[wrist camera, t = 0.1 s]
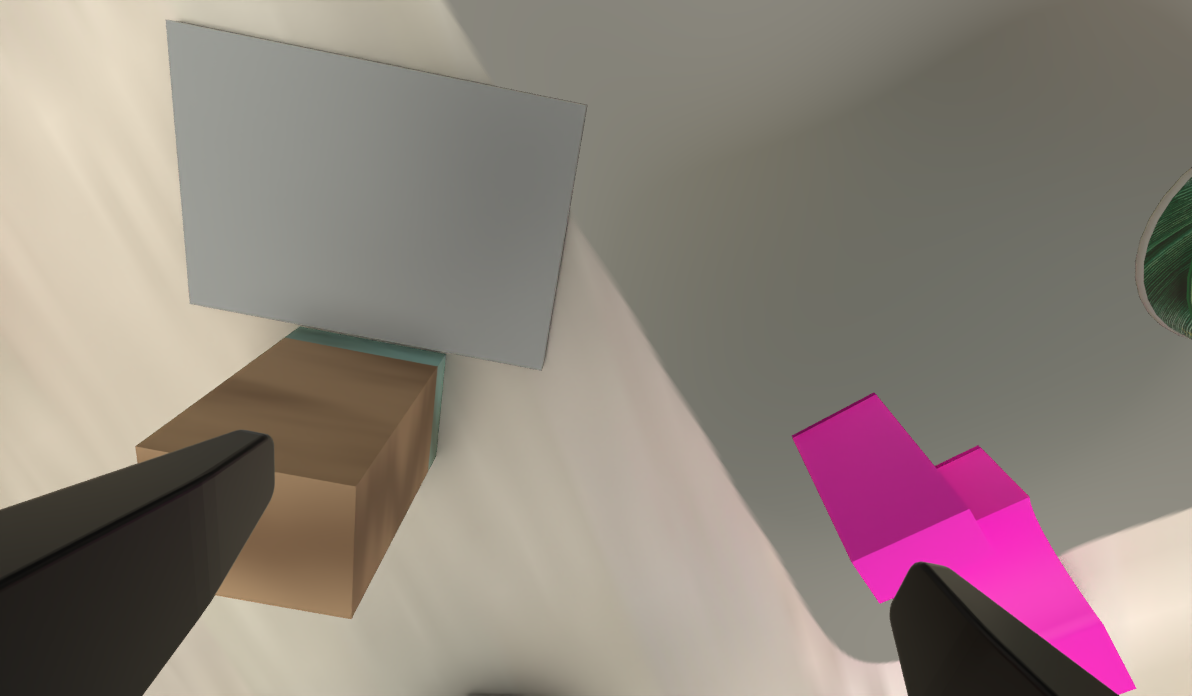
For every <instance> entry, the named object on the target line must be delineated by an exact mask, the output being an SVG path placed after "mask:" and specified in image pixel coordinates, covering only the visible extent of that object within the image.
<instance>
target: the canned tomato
mask: <svg viewBox="0 0 1192 696" xmlns="http://www.w3.org/2000/svg"><path fill="white" fill-rule="evenodd" d="M1135 281H1136V285H1137V289H1138V293H1139V297H1140V299H1141V301H1142V303H1143V305H1144V306H1145V308H1146V310H1147V311H1148V313H1149V314H1150V315H1151V316H1152V317H1153V318H1154V319H1155V320H1156V321H1157V322H1158V323H1159V324H1160V325H1161V326H1163V327H1165V328H1166V329H1168V330H1170V331H1172V332H1173V333H1175V334H1177V335H1179V336H1182V337H1186V338H1189V339H1192V167H1191V168H1190V169H1189V170H1188V171H1187V172H1186V173H1185V174H1183V175H1182V176H1181V177H1180V178H1179V179H1178V181H1177V182H1176V183H1175V184H1174V185H1173V186H1172V187H1171V189H1170V190H1169V191H1168V192H1167V193H1166V194H1165V195H1164V197H1163V198H1162V200H1161V201H1160V203H1159V204H1158V206H1157V207H1156V209H1155V211H1154V212H1153V214H1152V215H1151V217H1150V218H1149V220H1148V223H1147V225H1146V227H1145V230H1144V232H1143V234H1142V237H1141V239H1140V243H1139V248H1138V252H1137V257H1136V261H1135Z"/></svg>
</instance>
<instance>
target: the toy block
mask: <svg viewBox="0 0 1192 696" xmlns="http://www.w3.org/2000/svg"><path fill="white" fill-rule="evenodd" d="M792 438H793V440H794V442H795V444H796V446H797V449H798V451H799V453H800V455H801V457H802V459H803V461H804V463H805V465H806V467H807V469H808V472H809V474H810V476H811V478H812V480H813V482H814V484H815V486H816V488H817V491H818V493H819V495H820V497H821V499H822V501H823V503H824V505H825V507H826V509H827V512H828V514H829V516H830V518H831V520H832V522H833V524H834V526H835V528H836V531H837V532H838V535H839V537H840V539H841V541H842V543H843V545H844V547H845V549H846V552H847V554H848V556H849V558H850V560H851V562H852V563H853V565H854V566H855V568H856V569H857V571H858V572H859V574H860V575H861V577H862V578H863V580H864V581H865V583H866V584H867V585H868V587H869V588H870V590H871V591H872V593H873V594H874V596H875V597H876V599H877V600H878V602H879V603H883V602H885V601H887V600H890V599H894V597H895V595H896V593H897V591H898V589H899V587H900V586H901V584H902V582H903V580H904V578H905V576H906V574H907V572H908V570H909V569H910V567H911V566H912V565H913V564H914V563H916V562H920V561H922V562H928V563H933V564H938V565H943V566H946V567H948V568H950V569H952V570H953V571H954V572H956V573H957V574H958V575H960V576H961V577H962V578H964V579H965V580H966V581H968V582H969V583H970V584H972V585H973V586H974V587H976V588H977V589H978V590H980V591H981V592H982V593H984V594H985V595H986V596H987V597H989V598H990V599H991V600H993V601H994V602H995V603H997V604H998V605H999V606H1001V607H1002V608H1003V609H1005V610H1006V611H1007V612H1009V613H1010V614H1011V615H1013V616H1014V617H1015V618H1017V619H1018V620H1019V621H1021V622H1022V623H1023V624H1025V625H1026V626H1027V627H1029V628H1030V629H1031V630H1033V631H1034V632H1035V633H1037V634H1038V635H1039V636H1041V637H1042V638H1043V639H1045V640H1046V641H1047V642H1049V643H1050V644H1051V645H1053V646H1054V647H1055V648H1057V649H1058V650H1059V651H1061V652H1062V653H1063V654H1065V655H1066V656H1067V657H1069V658H1070V659H1071V660H1073V661H1074V662H1075V663H1077V664H1078V665H1079V666H1081V667H1082V668H1083V669H1085V670H1086V671H1087V672H1089V673H1090V674H1091V675H1093V676H1094V677H1095V678H1097V679H1098V680H1099V681H1101V682H1102V683H1103V684H1105V685H1106V686H1107V687H1109V688H1110V689H1111V690H1113V691H1114V692H1115V693H1117V694H1118V695H1119V694H1122V693H1125V692H1128V691H1130V690H1133V689H1136V687H1135V685H1134V683H1133V681H1132V679H1131V677H1130V675H1129V673H1128V671H1127V669H1126V667H1125V665H1124V664H1123V662H1122V660H1121V658H1120V656H1119V654H1118V652H1117V650H1116V648H1115V646H1114V644H1113V642H1112V640H1111V638H1110V636H1109V635H1108V633H1107V631H1106V629H1105V627H1104V625H1103V624H1102V622H1101V621H1100V619H1099V618H1098V617H1097V615H1096V614H1095V612H1094V611H1093V610H1092V608H1091V607H1090V605H1089V604H1088V603H1087V601H1086V600H1085V598H1084V597H1083V595H1082V594H1081V592H1080V591H1079V589H1078V588H1077V587H1076V585H1075V584H1074V582H1073V581H1072V579H1071V577H1070V576H1069V574H1068V573H1067V571H1066V570H1065V568H1064V567H1063V565H1062V564H1061V562H1060V560H1059V559H1058V557H1057V555H1056V554H1055V552H1054V550H1053V549H1052V547H1051V545H1050V544H1049V542H1048V540H1047V538H1046V537H1045V535H1044V533H1043V531H1042V529H1041V527H1040V525H1039V523H1038V521H1037V519H1036V517H1035V514H1034V512H1033V509H1032V506H1031V503H1030V497H1029V496H1028V495H1027V494H1026V493H1025V492H1024V491H1023V490H1022V489H1021V488H1020V487H1019V486H1018V485H1017V484H1016V483H1015V482H1014V481H1013V480H1012V479H1011V478H1010V477H1009V476H1008V475H1007V474H1006V473H1005V472H1004V471H1003V470H1002V469H1001V468H1000V467H999V466H998V465H997V464H996V462H995V461H994V460H993V459H992V458H991V457H990V456H989V455H988V454H986V453H985V451H984V450H983V449H982V448H981V447H979V445H977V446H975V447H973V448H971V449H969V450H967V451H965V452H963V453H961V454H958V455H956V456H954V457H952V458H950V459H948V460H946V461H944V462H942V463H940V464H938V465H935V466H934V465H933V464H932V462H931V461H930V460H929V459H928V457H927V456H926V455H925V454H924V453H923V451H922V450H921V449H920V448H919V446H918V445H917V444H916V443H915V442H914V440H913V439H912V438H911V437H910V435H909V434H908V433H907V432H906V431H905V429H904V428H903V427H902V426H901V424H900V423H899V422H898V421H897V419H896V418H895V417H894V416H893V415H892V413H891V412H890V411H889V410H888V409H887V407H886V406H885V405H884V404H883V402H882V401H881V400H880V399H879V397H877V395H876V394H875V393H871V394H870V395H868V396H866V397H864V398H862V399H860V400H858V401H856V402H854V403H852V404H851V405H849V406H847V407H845V408H843V409H841V410H839V411H837V412H836V413H834V414H832V415H830V416H828V417H826V418H824V419H822V420H821V421H818V422H816V423H815V424H813V425H811V426H809V427H807V428H805V429H803V430H801V431H799V432H798V433H796V434H794V435H792Z"/></svg>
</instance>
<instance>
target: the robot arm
mask: <svg viewBox="0 0 1192 696" xmlns="http://www.w3.org/2000/svg"><path fill="white" fill-rule="evenodd" d="M274 487H275V455H274V441H273V439H272V437H271V436H269V435H268V434H264V433H259V432H254V431H249V430H236V431H233V432H230V433H227V434H224V435H221V436H218V437H215V438H212V439H209V440H206V441H203V442H200V443H197V444H194V445H191V446H188V447H185V448H182V449H179V450H176V451H173V452H170V453H167V454H164V455H161V456H158V457H155V458H152V459H150V460H147V461H144V462H141V463H138V464H135V465H132V466H129V467H126V468H123V469H120V470H117V471H114V472H111V473H108V474H105V475H102V476H99V477H96V478H93V479H90V480H87V481H84V482H81V483H78V484H75V485H72V486H69V487H66V488H63V489H60V490H57V491H54V492H52V493H49V494H46V495H43V496H40V497H37V498H34V499H31V500H28V501H25V502H22V503H19V504H16V505H13V506H10V507H7V508H4V509H1V510H0V696H142V695H143V694H144V693H145V691H146V690H147V689H148V687H149V686H150V685H151V683H152V682H153V681H154V679H155V678H156V676H157V675H158V674H159V672H160V671H161V670H162V668H163V667H164V666H165V664H166V663H167V661H168V660H169V659H170V657H171V656H172V655H173V653H174V652H175V651H176V649H177V648H178V647H179V645H180V644H181V642H182V641H183V640H184V638H185V637H186V636H187V634H188V633H189V632H190V630H191V629H192V627H193V626H194V625H195V623H196V622H197V621H198V619H199V618H200V616H201V615H202V614H203V612H204V611H205V609H206V608H207V606H208V605H209V604H210V602H211V601H212V599H213V597H214V596H215V594H216V593H217V591H218V589H219V588H220V586H221V585H222V583H223V581H224V579H225V578H226V576H227V574H228V573H229V571H230V569H231V568H232V566H233V564H234V562H235V561H236V559H237V557H238V556H239V554H240V552H241V550H242V549H243V547H244V545H245V544H246V542H247V540H248V539H249V537H250V535H251V533H252V532H253V530H254V528H255V527H256V525H257V523H258V521H259V520H260V518H261V516H262V515H263V513H264V511H265V509H266V508H267V506H268V504H269V502H270V501H271V498H272V496H273V492H274ZM890 622H891V627H892V631H893V635H894V639H895V644H896V647H897V652H898V656H899V660H900V664H901V669H902V673H903V677H904V681H905V685H906V689H907V693H908V696H1119V695H1118V694H1117V693H1115V692H1114V691H1113V690H1111V689H1110V688H1109V687H1107V686H1106V685H1105V684H1103V683H1102V682H1101V681H1099V680H1098V679H1097V678H1095V677H1094V676H1093V675H1091V674H1090V673H1089V672H1087V671H1086V670H1085V669H1083V668H1082V667H1081V666H1079V665H1078V664H1077V663H1075V662H1074V661H1073V660H1071V659H1070V658H1069V657H1067V656H1066V655H1065V654H1063V653H1062V652H1061V651H1059V650H1058V649H1057V648H1055V647H1054V646H1053V645H1051V644H1050V643H1049V642H1047V641H1046V640H1045V639H1043V638H1042V637H1041V636H1039V635H1038V634H1037V633H1035V632H1034V631H1033V630H1031V629H1030V628H1029V627H1027V626H1026V625H1025V624H1023V623H1022V622H1021V621H1019V620H1018V619H1017V618H1015V617H1014V616H1013V615H1011V614H1010V613H1009V612H1007V611H1006V610H1005V609H1003V608H1002V607H1001V606H999V605H998V604H997V603H995V602H994V601H993V600H991V599H990V598H989V597H987V596H986V595H985V594H984V593H982V592H981V591H980V590H978V589H977V588H976V587H974V586H973V585H972V584H970V583H969V582H968V581H966V580H965V579H964V578H962V577H961V576H960V575H958V574H957V573H956V572H954V571H953V570H952V569H950V568H948V567H946V566H943V565H938V564H933V563H928V562H922V561H920V562H916V563H914V564H913V565H912V566H911V567H910V569H909V570H908V572H907V574H906V576H905V578H904V580H903V582H902V584H901V586H900V587H899V589H898V591H897V593H896V595H895V597H894V599H893V601H892V603H891V607H890Z"/></svg>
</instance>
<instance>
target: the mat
mask: <svg viewBox="0 0 1192 696" xmlns="http://www.w3.org/2000/svg"><path fill="white" fill-rule="evenodd" d="M166 29H167V41H168V52H169V64H170V76H171V87H172V99H173V111H174V123H175V134H176V146H177V158H178V169H179V181H180V193H181V205H182V216H183V228H184V240H185V251H186V263H187V275H188V287H189V298H190V304H194V305H199V306H204V307H209V308H215V309H220V310H225V311H230V312H236V313H241V314H246V315H251V316H257V317H262V318H267V319H272V320H278V321H283V322H288V323H294V324H299V325H304V326H309V327H315V328H320V329H325V330H330V331H336V332H341V333H346V334H351V335H357V336H362V337H367V338H372V339H378V340H383V341H388V342H394V343H399V344H404V345H409V346H415V347H420V348H425V349H430V350H436V351H441V352H446V353H451V354H457V355H462V356H467V357H472V358H478V359H483V360H488V361H493V362H499V363H504V364H509V365H515V366H520V367H525V368H530V369H536V370H541V371H542V368H543V364H544V359H545V353H546V347H547V341H548V335H549V329H550V323H551V317H552V311H553V305H554V300H555V294H556V288H557V282H558V276H559V270H560V264H561V258H562V252H563V246H564V240H565V234H566V229H567V223H568V217H569V211H570V205H571V199H572V193H573V187H574V181H575V175H576V169H577V163H578V158H579V152H580V146H581V140H582V134H583V128H584V122H585V116H586V110H587V105H585V104H581V103H575V102H571V101H565V100H561V99H556V98H551V97H546V96H541V95H536V94H531V93H526V92H522V91H517V90H512V89H507V88H502V87H497V86H492V85H487V84H482V83H477V82H473V81H468V80H463V79H458V78H453V77H448V76H443V75H438V74H433V73H428V72H423V71H419V70H414V69H409V68H404V67H399V66H394V65H389V64H384V63H379V62H374V61H369V60H365V59H360V58H355V57H350V56H345V55H340V54H335V53H330V52H325V51H320V50H315V49H311V48H306V47H301V46H296V45H291V44H286V43H281V42H276V41H271V40H266V39H261V38H257V37H252V36H247V35H242V34H237V33H232V32H227V31H222V30H217V29H212V28H207V27H203V26H198V25H193V24H188V23H183V22H178V21H171V20H166Z"/></svg>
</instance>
